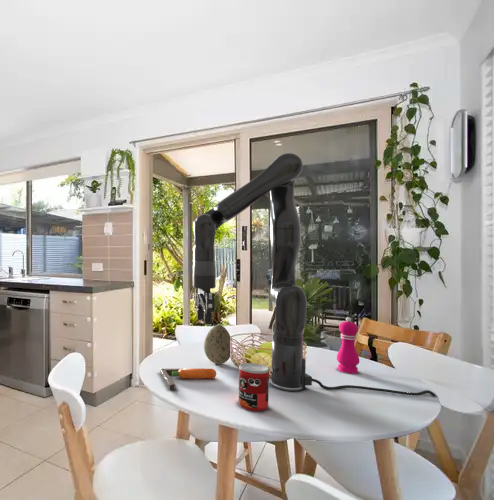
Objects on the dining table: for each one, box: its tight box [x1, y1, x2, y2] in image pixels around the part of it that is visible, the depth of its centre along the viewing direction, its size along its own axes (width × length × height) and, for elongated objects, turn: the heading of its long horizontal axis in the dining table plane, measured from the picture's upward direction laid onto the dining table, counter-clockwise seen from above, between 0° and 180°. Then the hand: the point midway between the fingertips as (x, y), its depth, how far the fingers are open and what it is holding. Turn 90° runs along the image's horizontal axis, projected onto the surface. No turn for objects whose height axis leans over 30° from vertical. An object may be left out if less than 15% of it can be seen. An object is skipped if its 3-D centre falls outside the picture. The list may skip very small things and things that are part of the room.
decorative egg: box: [203, 324, 231, 365], centre depth 145 cm, size 11×11×15 cm
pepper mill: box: [336, 316, 360, 375], centre depth 139 cm, size 7×7×20 cm
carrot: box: [171, 368, 217, 380], centre depth 127 cm, size 15×3×3 cm, turn 95°
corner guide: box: [159, 367, 206, 391], centre depth 124 cm, size 16×16×2 cm
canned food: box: [238, 362, 270, 412], centre depth 105 cm, size 8×8×11 cm
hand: (204, 321), depth 126 cm, fingers open, 8 cm apart
